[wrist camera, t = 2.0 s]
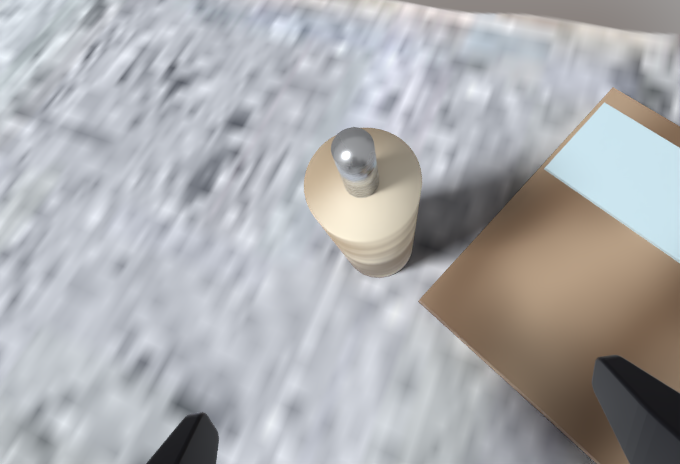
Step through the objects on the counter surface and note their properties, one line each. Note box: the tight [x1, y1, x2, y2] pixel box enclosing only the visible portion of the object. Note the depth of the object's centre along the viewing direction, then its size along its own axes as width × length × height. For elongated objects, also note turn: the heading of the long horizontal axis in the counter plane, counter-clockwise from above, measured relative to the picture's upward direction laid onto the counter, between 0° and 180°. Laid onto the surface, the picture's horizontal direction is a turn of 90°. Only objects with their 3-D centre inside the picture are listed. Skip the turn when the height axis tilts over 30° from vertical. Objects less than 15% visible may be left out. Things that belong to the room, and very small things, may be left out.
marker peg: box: [304, 127, 422, 278], centre depth 16 cm, size 4×4×12 cm
